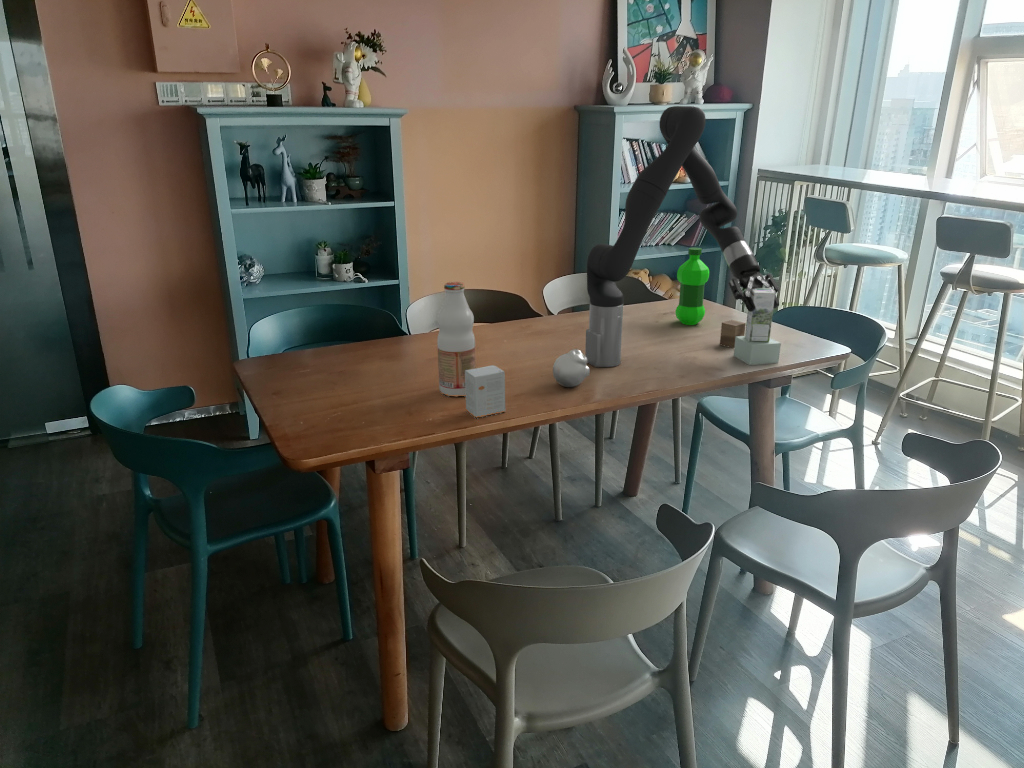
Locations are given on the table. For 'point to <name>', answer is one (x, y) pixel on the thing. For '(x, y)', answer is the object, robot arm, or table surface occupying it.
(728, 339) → the walnut block
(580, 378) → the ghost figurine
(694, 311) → the plastic bottle
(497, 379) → the small box
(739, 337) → the green block
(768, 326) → the milk carton
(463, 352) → the fruit juice
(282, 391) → the table surface
